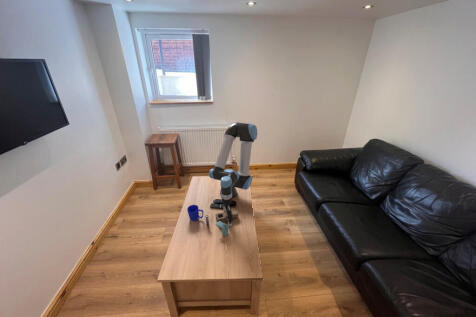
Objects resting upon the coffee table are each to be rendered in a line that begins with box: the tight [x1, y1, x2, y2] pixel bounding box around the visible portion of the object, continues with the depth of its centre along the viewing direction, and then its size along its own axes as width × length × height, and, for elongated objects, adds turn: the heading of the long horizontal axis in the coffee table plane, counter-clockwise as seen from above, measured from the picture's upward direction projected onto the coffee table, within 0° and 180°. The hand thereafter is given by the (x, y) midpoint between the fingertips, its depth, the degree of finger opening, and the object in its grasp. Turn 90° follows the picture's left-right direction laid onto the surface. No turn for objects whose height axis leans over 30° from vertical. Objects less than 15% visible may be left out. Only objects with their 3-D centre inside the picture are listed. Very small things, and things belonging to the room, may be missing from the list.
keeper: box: [215, 221, 229, 237], centre depth 133 cm, size 4×8×7 cm, turn 57°
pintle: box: [204, 214, 210, 226], centre depth 140 cm, size 2×2×8 cm
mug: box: [186, 204, 204, 222], centre depth 145 cm, size 8×12×10 cm
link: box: [215, 209, 239, 224], centre depth 145 cm, size 16×6×5 cm, turn 107°
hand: (227, 219), depth 146 cm, fingers open, 13 cm apart
